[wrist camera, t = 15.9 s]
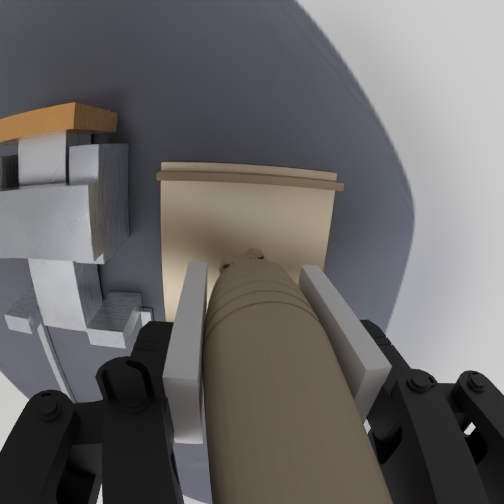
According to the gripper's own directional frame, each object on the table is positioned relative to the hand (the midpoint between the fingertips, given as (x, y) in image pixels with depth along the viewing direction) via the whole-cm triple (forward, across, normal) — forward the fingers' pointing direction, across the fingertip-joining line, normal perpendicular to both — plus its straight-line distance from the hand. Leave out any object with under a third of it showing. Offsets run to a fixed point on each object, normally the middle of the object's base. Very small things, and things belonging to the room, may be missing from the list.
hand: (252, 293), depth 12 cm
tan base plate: (+4, 0, 0) cm, 4 cm away
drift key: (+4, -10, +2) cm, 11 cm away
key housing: (+4, -10, +4) cm, 12 cm away
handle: (+2, 0, 0) cm, 2 cm away
